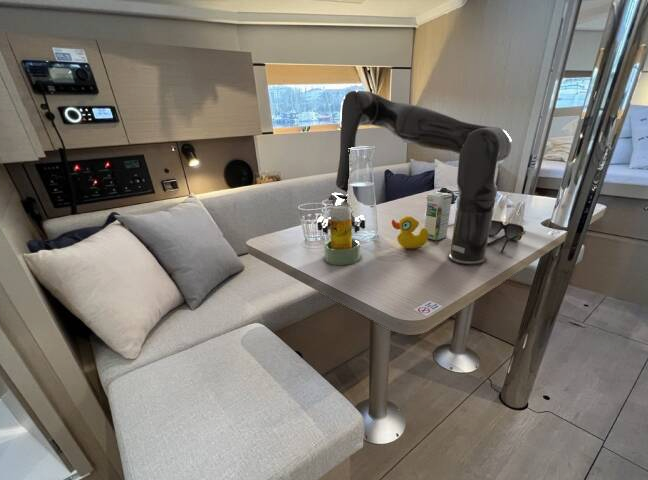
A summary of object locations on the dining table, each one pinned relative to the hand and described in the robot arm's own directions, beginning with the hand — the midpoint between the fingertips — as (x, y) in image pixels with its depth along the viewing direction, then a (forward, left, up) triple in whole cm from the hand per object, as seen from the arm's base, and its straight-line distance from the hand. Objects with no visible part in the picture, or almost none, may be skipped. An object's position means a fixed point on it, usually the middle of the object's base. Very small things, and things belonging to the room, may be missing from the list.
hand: (341, 229), depth 90 cm
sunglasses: (-39, +30, -10) cm, 50 cm away
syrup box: (-34, +13, -10) cm, 38 cm away
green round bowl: (-1, -1, -10) cm, 10 cm away
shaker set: (-58, +28, -10) cm, 65 cm away
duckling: (-20, +11, -10) cm, 25 cm away
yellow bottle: (-2, -1, -9) cm, 9 cm away
